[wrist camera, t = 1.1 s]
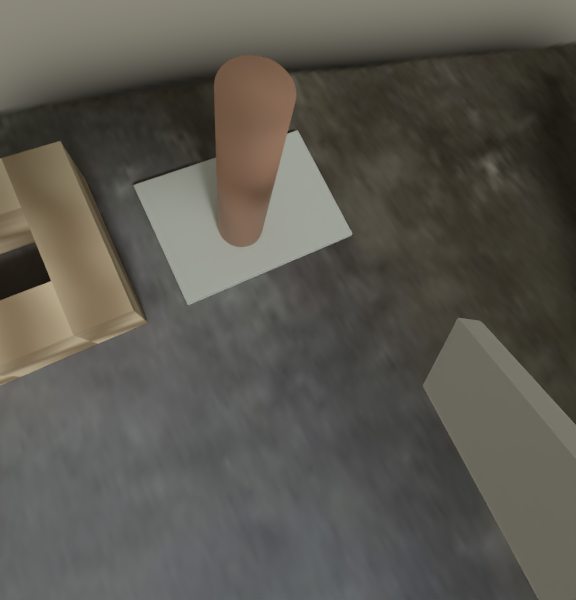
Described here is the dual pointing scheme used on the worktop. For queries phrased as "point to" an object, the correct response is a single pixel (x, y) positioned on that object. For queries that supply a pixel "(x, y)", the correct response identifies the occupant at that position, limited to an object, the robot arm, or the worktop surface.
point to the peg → (249, 142)
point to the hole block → (58, 265)
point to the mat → (204, 222)
